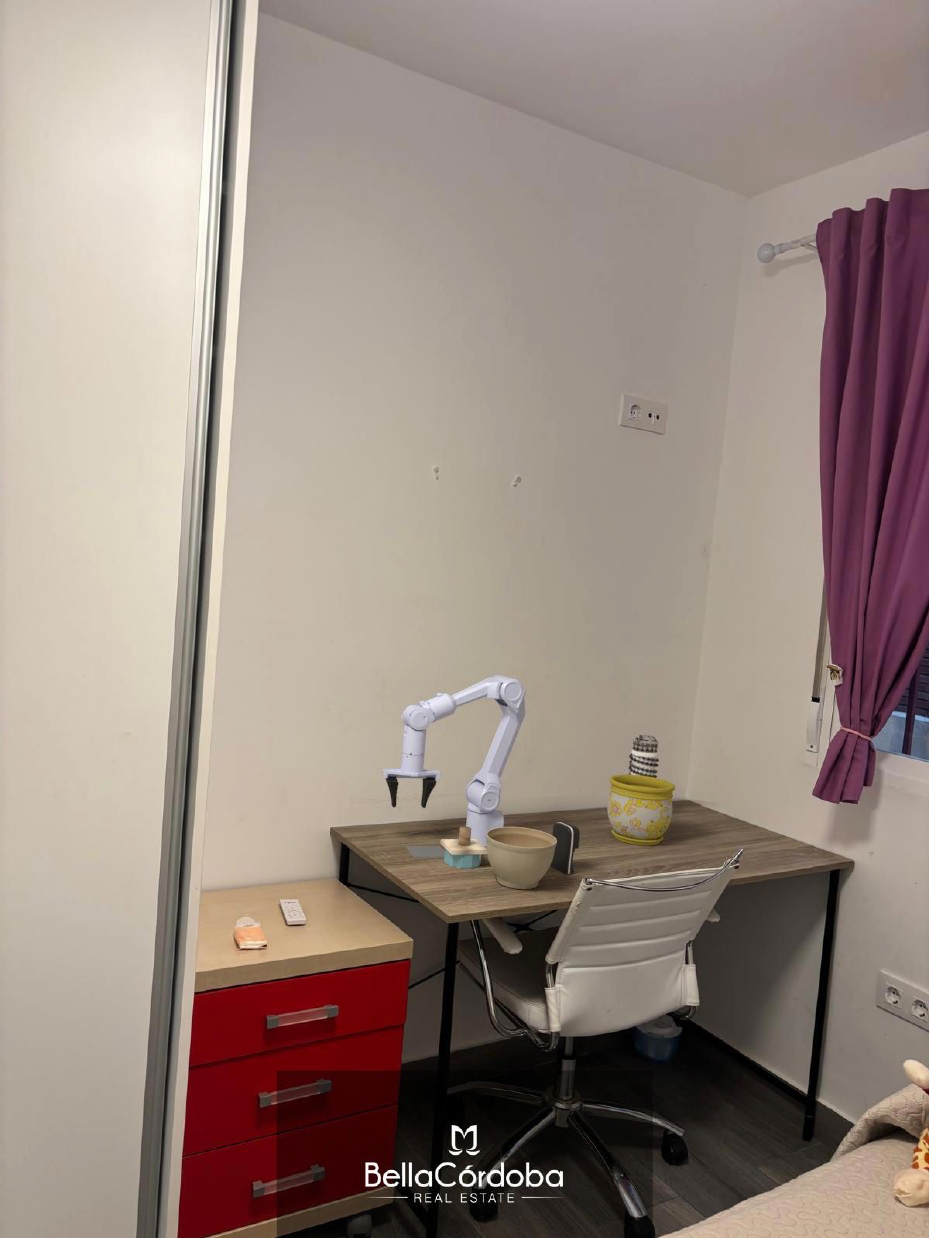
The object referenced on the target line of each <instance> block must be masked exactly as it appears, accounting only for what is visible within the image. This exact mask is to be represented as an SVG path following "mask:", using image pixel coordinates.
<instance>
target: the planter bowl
mask: <svg viewBox="0 0 929 1238" xmlns="http://www.w3.org/2000/svg"><path fill="white" fill-rule="evenodd" d="M486 839H487V846H486V848H487V854H486V855H487V859H488V861H489V864H490V867H491V868H492V871H493V873H494V874H495V877H496V881H497V883H499V884H500V885H502V886H504V887H507V888H510V889H515V890H516V889H518V890H531V889H534V888H537V887H538V885H539V883H540V880H541V879H542V878H543V877H544V876H545V875H546V873H547V872H548V871H549V869H550V865H551V862H552V860H553V856H554V852H555V847H556V844H557V840H556V838H555V837H553V836H552V834H550V833H547V832H545V831H543V830H538V829H534V828H528V827H522V826H521V827H520V826H504V827H498V828H493V829H490V830H489V831H487V833H486Z"/></svg>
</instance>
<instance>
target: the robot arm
mask: <svg viewBox="0 0 929 1238" xmlns="http://www.w3.org/2000/svg"><path fill="white" fill-rule="evenodd" d="M526 693H527V691H526V690H525V687H524V685H523V683H522V682H521V681H520V680H518V679H517V678H512V677H511V678H510V677H508V676H505V675H503V674H495V675H494V676H492V677H491V676H490V677H487V678H485V679H482V680H480V681H479V682H477V683H475V684H473V685H470V686H468V687H466V688H465V689H462V690H460V691H458V692H456V693H454V694H448V693H447V692H445V693H442V692H438V693H436V694H435V696H434V697H432V698H430V699H427V700H425V701H424V700H420V701H419V703H418V704H410V705H408V706H407V707H406V708H405V709H404V710H403V712H402V714H401V715H400V718H401V721H402V723H403V724H404V725H403V735H402V747H401V758H400V768H382V772H381V777H382V778H383V779H385V781H386V784H387V787H388V791H389V794H390V800H391V801H390V802H391V807H392V808H397V799H398V798H397V797H398V796H397V795H398V789H399V782H398V779H421V780H422V792H421V800H420V803H421V804H420V806H421V807H422V809H426V807H427V803H428V801H429V798H430V796H431V794H432V792H433V790H434V789H435V787H436V785H437V781H439V780H441V772H440V770H436V769H435V770H434V769H424V764H425V751H426V741H427V739H426V738H427V729H428V728H429V727H430V726H431V724H433V723H436V722H438V721H439V720H442V719H445V718H446V717H449V716H452V715H454V713H455V712H456V710H457V708H459V707H461V706H465V705H466V704H469V703H473V702H474V701H477V700H480V699H483V698H489V699H493V700H494V701H496V703H498V706H499V708H500V710H501V712H502V717H501V719H500V722H499V724H498V727H497V729H496V732H495V734H494V736H493V737H494V738H493V740H492V742H491V744H490V747H489V749H488V752H487V754H486V757H485V759H484V761H483V765H482V767H481V769H480V770H479V771H478V772H477V773H475V774H474V776H473V778H472V780H471V781H470V782H469V783H468V784H467V786H466V787H465V791H464V797H465V798H466V800H467V802H468V804H467V809H466V823H465V827H470V828H471V839H476V840H477V841H478V842H480V843H481V844H482V845H483V846H484V847H487V839H486V833H487V831H489V830H490V829H493V828H498V827H505V826H504V824H505V821H504V820H505V819H504V818H505V817H504V814H503V811H502V810H501V809H497V808H498V807H499V806H500V803H501V792H502V789H503V785H502V781H501V778H502V775H503V772H504V769H505V767H506V765H507V762H508V760H509V757H510V754H511V752H512V749H513V747H514V745H515V742H516V739H517V737H518V734H519V732H520V729H521V727H522V724H523V721H524V718H525V716H526V706H525V705H526V703H525V696H526V695H527V694H526ZM397 778H398V779H397Z"/></svg>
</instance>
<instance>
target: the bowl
mask: <svg viewBox="0 0 929 1238" xmlns="http://www.w3.org/2000/svg"><path fill="white" fill-rule="evenodd" d="M444 851H445V855H444V857H443V861H444V863H445V864H446V865H447V866H449V867H452V868H456V869H465V870H467V869H476V868H478V867H480V865H481V863H482V854H461V855H452V854H451V853H450V852H449V851H448V850H447V849H446V848H445V847H444Z"/></svg>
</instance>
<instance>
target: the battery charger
mask: <svg viewBox="0 0 929 1238" xmlns="http://www.w3.org/2000/svg"><path fill="white" fill-rule="evenodd" d="M551 835H552V836H553V837H555V838H556V840H557V844H556V847H555V852H554V856H553V860H552V862H551V865H550V867H551V868H552V869H554V870H556V871H557V872H560V873H562V874H565V875H570V874H574V873H575V869H574V866H573V861H574V853H575V852H576V850H577V849H579V848H580V847H579V846H580V838H581V836H580V835H581V832H580V829H579V828H578V827H577V826H576V825H575V824H574V825H573V824H572V823H568V822H566V821H563V822H562V821H561V822H560V821H559V822H555V823H554V824H553V827H552V834H551ZM550 867H549V868H550Z"/></svg>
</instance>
